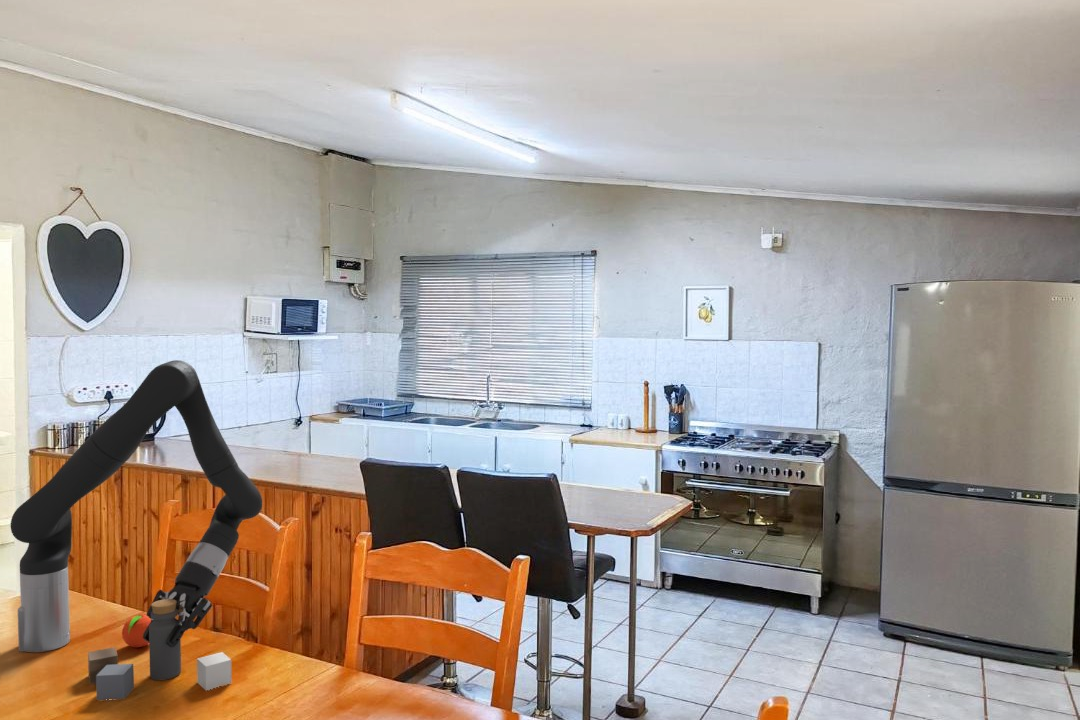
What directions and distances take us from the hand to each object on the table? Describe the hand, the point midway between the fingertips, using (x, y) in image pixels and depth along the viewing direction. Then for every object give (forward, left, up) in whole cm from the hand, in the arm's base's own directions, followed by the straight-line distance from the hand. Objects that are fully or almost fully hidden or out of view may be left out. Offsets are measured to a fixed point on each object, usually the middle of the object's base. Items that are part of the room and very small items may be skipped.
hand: (158, 642), depth 167 cm
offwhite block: (+11, -6, -7) cm, 15 cm away
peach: (-7, +18, -8) cm, 21 cm away
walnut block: (-11, +3, -7) cm, 14 cm away
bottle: (+1, +1, -7) cm, 8 cm away
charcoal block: (-7, -6, -7) cm, 12 cm away
